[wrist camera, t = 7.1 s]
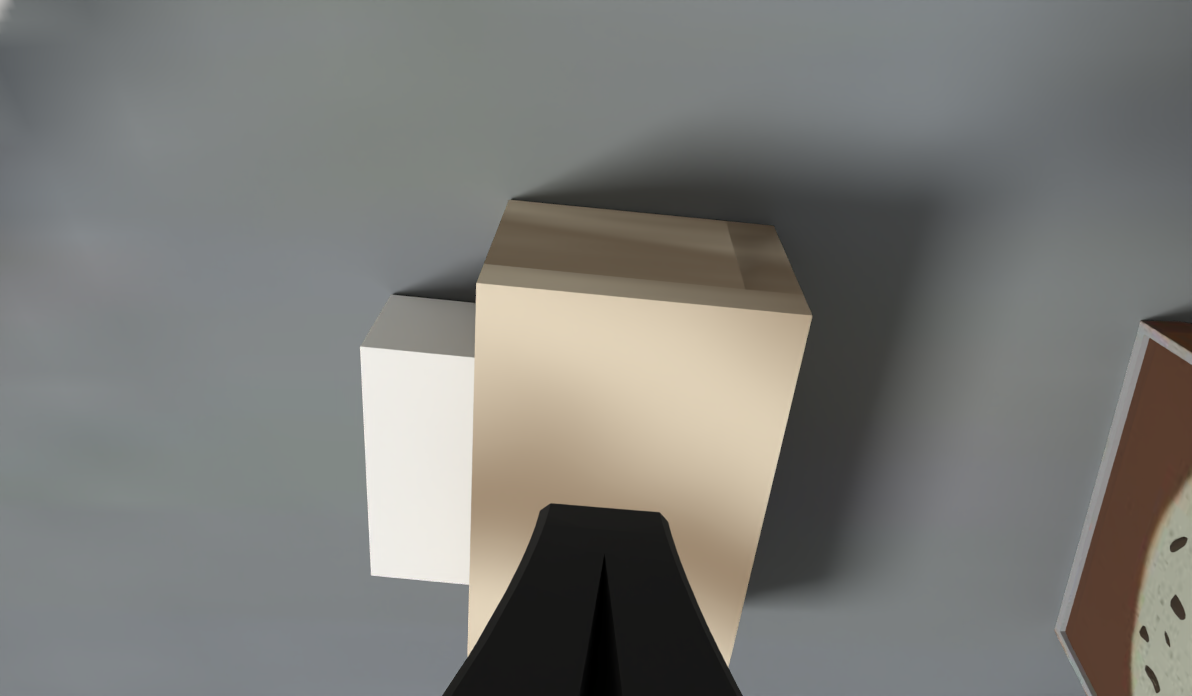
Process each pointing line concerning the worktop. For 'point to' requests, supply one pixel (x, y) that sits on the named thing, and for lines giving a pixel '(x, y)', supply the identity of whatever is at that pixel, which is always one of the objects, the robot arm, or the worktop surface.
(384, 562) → the cover
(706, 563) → the overhang shelf
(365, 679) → the worktop surface
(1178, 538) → the food container
